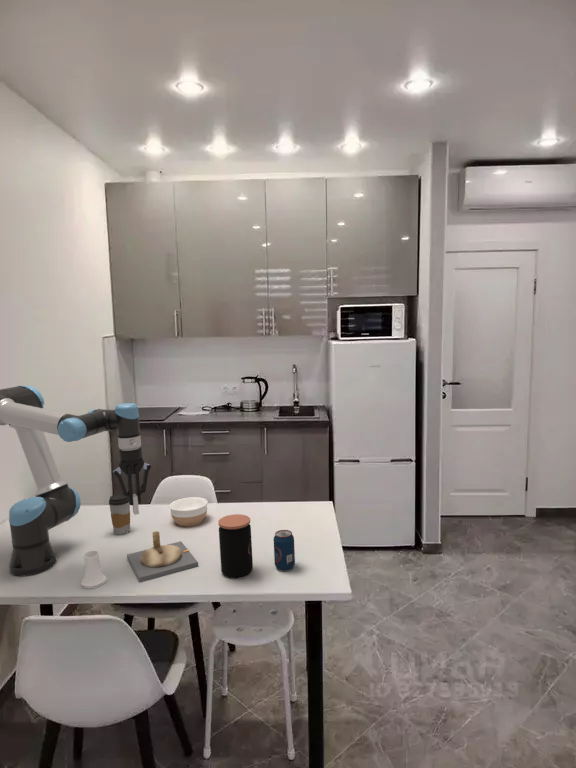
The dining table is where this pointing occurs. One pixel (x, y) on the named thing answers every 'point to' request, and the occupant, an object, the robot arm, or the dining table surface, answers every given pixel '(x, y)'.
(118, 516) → the coffee cup
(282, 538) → the soda can
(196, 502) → the bowl
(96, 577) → the vase
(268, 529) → the dining table surface
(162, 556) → the dial
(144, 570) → the dial base
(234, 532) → the coffee jar
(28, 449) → the robot arm
